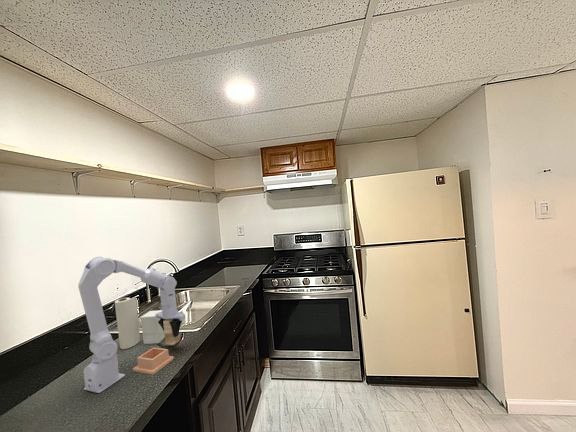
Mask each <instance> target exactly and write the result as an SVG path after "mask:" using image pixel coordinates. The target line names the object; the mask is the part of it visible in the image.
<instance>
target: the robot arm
mask: <svg viewBox="0 0 576 432" xmlns="http://www.w3.org/2000/svg"><path fill="white" fill-rule="evenodd" d="M113 273H114V274H119V273H125V274H128V275H131V276H134V277H137V278H140V281H141V283H144V284H146V285H148V286H149V285H150V286H152V287H156V288H158V289H159V295H160V296H159V297H160V305H161V310H162V312H158V313H156V314H155V316H156V318H161V319H160V320H159V321H158V323H159V324H160V326H161V327H162V329H163V331H164V324H163V321H164V320H166V319H173V320H172V321H171V322H169V323H170V325H171V327H172V331H173V336H174V337H176V336H178V335H180V329H181V325H182V322H183V321H184V320H186V313H185V314H184V313H181V312H179V310H177V309H178V307H177V299H176V286H177V284H178V282H177V280H176V279H175V277H173V276H171V275H167V273H166V272H160V271H157V269H156V268H154V267H152V268H147V269H142V268H140V267H137V266H135V265H132V264H129V263H127V262H125V261H122V260H117V259H111V258H109V257H103V256H96V257H93V258H91V260H89V261H88V263H86V264H85V265H84V268H83V272H82V275H81V276H80V279H79V282H78V291H79V294H80V298H81V303H82V306H83V309H84V313H85V317H86V321H87V324H88V328H89V332H90V335H89V339H90V342H89V350H90V352H91V353H93V355H92V358H91V362H90V363H89V364H88V365H86V366H85V367H84V369H83V378H84V379H83V381H84V388H83V389H84V390H85V391H89V392H91V393H92V392H93V393H97V394H101V393H102V392H104V391H105V390H107V389H108V388H109V387H111V386H112V385H114V384H116V383H117V382H118V381H120V380H121V379H122V378H124V377H125V376H126V374H124V373H122V372H121V373H120V371H119V363H118V361H119V360H118V354H117V352H118V344H117V342H116V341H114V339H113V337H112V335H111V331H109V328H108V324H107V319H106V317H105V313H104V309H103V305H102V301H101V297H100V293H99V290H98V287H99V285H100V284H101V283H102V282H103V281H104V280H106V279H107V278H108V277H109V276H111V275H112V274H113Z"/></svg>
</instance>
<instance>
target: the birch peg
mask: <svg viewBox="0 0 576 432" xmlns="http://www.w3.org/2000/svg"><path fill="white" fill-rule="evenodd" d="M172 320H173V319H166V320H164V321H163V324H164V334H165V338H164V341H165V342H164V343H165V345H167V346H168V345H170V346H174V345H176V344H177V343H179V342H180V341H181V336H180V335H181V334H179V335H178V336H176V337H174V336H173V331H172V327H171V325H170V323H169V322H171V321H172Z"/></svg>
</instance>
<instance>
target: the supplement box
mask: <svg viewBox="0 0 576 432" xmlns="http://www.w3.org/2000/svg"><path fill="white" fill-rule="evenodd" d="M158 312H162V309H159V310H149V311H147V312H146V313H144V314H143V315H142V316H140V325H141V332H142V340H143V345H151V344H152V345H153V344H160V343H161V342H162V341H163V340H165V334H164V331H163V329H162V327H161V326H160V324H159V323H158V321H159V320H160V319H161V318H156V316H155V314H156V313H158Z"/></svg>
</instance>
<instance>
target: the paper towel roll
mask: <svg viewBox="0 0 576 432" xmlns="http://www.w3.org/2000/svg"><path fill="white" fill-rule="evenodd" d="M114 307H115V317H116V323H117V332H118V342H119V343H118V344H119V348H120V349H121V350H126V349H127V350H128V349H130V348H132V347H135V346H136V345H137V344H138V343H140V342H141V340H142V339H141V333H140V325H139V324H140V323H139V315H138V308H137V298H136V296H134V297H132V298H131V297H122V298H119V299H116V300H115V301H114Z"/></svg>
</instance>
